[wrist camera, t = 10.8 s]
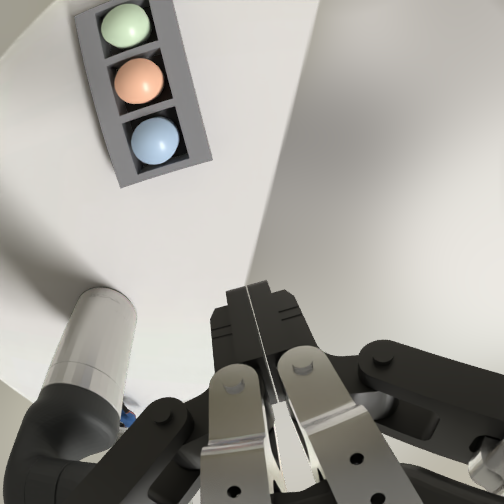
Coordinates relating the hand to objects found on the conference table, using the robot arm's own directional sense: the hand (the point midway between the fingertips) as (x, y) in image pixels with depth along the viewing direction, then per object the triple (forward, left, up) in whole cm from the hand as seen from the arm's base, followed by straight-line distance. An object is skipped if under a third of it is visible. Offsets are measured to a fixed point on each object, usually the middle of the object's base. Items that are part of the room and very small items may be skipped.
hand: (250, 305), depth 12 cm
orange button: (+7, +10, -26) cm, 28 cm away
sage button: (+13, +13, -26) cm, 31 cm away
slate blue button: (+1, +7, -26) cm, 27 cm away
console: (+7, +10, -27) cm, 29 cm away
